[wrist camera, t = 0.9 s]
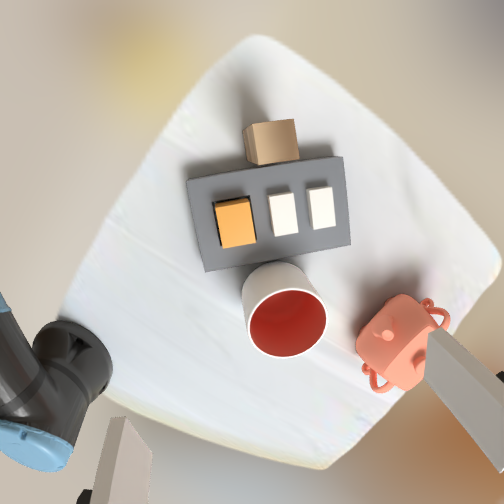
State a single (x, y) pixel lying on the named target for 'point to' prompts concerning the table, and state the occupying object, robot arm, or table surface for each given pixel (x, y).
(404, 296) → the teapot
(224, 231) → the orange rectangular block
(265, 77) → the table surface
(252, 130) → the oak post
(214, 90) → the table surface
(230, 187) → the panel
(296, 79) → the table surface
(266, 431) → the table surface
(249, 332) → the cup
